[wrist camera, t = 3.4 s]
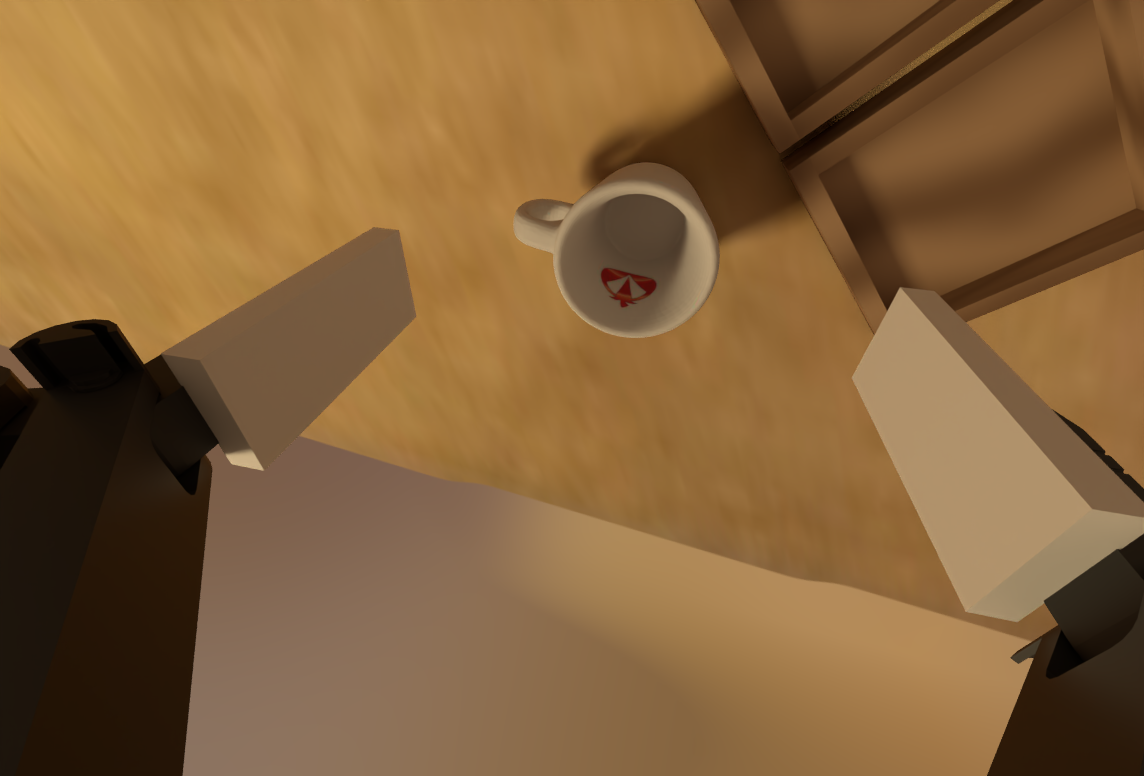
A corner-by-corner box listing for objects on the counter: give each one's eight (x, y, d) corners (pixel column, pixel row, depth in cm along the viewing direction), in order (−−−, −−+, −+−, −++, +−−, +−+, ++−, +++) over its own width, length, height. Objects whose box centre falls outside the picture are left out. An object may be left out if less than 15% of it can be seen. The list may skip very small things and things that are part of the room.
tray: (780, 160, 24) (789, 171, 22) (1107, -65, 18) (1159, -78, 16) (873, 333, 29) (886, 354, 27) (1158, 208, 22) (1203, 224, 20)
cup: (532, 254, 30) (493, 308, 24) (545, 121, 25) (500, 147, 19) (688, 290, 30) (688, 355, 24) (733, 160, 25) (748, 201, 19)
